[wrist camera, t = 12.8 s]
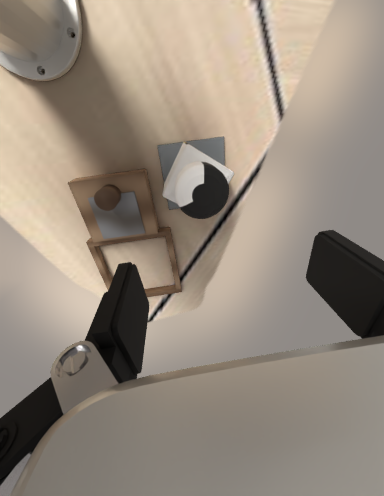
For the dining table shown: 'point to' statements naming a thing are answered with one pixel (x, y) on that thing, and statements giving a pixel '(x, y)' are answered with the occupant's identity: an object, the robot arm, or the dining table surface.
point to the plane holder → (121, 217)
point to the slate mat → (207, 146)
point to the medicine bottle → (197, 183)
